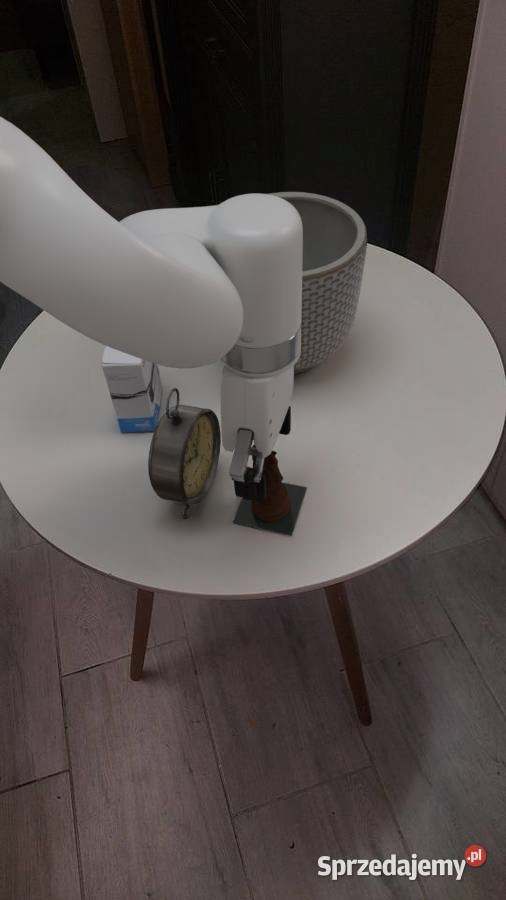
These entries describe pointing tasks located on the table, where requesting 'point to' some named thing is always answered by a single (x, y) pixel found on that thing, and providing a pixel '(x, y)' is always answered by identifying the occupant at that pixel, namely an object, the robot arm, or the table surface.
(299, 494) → the slate coaster
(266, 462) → the chess piece
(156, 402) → the ink box
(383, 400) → the table surface
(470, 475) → the table surface
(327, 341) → the planter
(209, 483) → the alarm clock
